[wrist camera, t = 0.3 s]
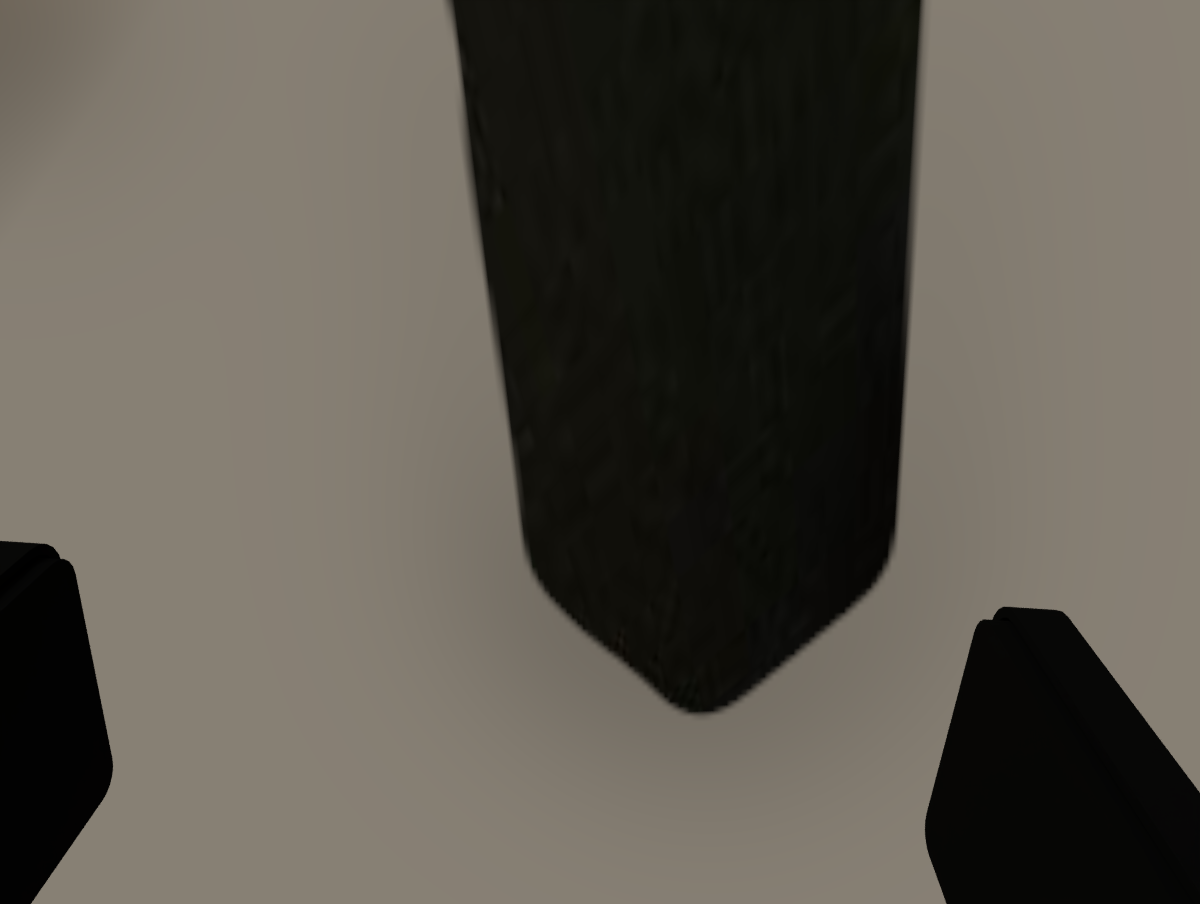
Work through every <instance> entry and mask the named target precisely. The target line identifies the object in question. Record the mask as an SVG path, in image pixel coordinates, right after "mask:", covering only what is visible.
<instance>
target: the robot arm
mask: <svg viewBox="0 0 1200 904" xmlns="http://www.w3.org/2000/svg"><path fill="white" fill-rule="evenodd" d="M112 772H113V761H112V755H111V750H110V745H109V739H108V735H107V729H106V724H105V720H104V715H103V709H102V704H101V699H100V695H99V689H98V684H97V679H96V674H95V669H94V664H93V659H92V655H91V649H90V645H89V639H88V634H87V629H86V624H85V619H84V614H83V609H82V604H81V599H80V594H79V589H78V584H77V579H76V574H75V571H74V568H73V566H72V565H71V563H70V562H69V561H67V560H65V559H60V557H59V554H58V553H57V552H56V550H55V549H54V548H53V547H52V546H49V545H48V544H38V543H23V542H8V541H0V904H31V903H32V901H33V900H34V899H35V897H36V896H37V894H38V893H39V891H40V890H41V888H42V887H43V885H44V884H45V883H46V881H47V880H48V878H49V877H50V875H51V874H52V872H53V871H54V870H55V868H56V867H57V865H58V864H59V862H60V861H61V860H62V858H63V857H64V855H65V854H66V852H67V851H68V849H69V848H70V847H71V845H72V844H73V842H74V841H75V839H76V838H77V836H78V835H79V834H80V832H81V831H82V829H83V828H84V826H85V825H86V823H87V822H88V821H89V819H90V818H91V816H92V815H93V813H94V812H95V810H96V809H97V808H98V806H99V805H100V803H101V802H102V800H103V798H104V797H105V795H106V793H107V791H108V788H109V786H110V782H111V778H112ZM925 837H926V844H927V850H928V853H929V856H930V859H931V862H932V865H933V867H934V870H935V873H936V876H937V878H938V881H939V884H940V887H941V889H942V892H943V895H944V898H945V900H946V903H947V904H1200V793H1199V791H1198V790H1197V788H1196V787H1195V786H1194V784H1193V783H1192V782H1191V780H1190V779H1189V778H1188V777H1187V775H1186V774H1185V772H1184V771H1183V770H1182V768H1181V767H1180V766H1179V764H1178V763H1177V762H1176V761H1175V759H1174V758H1173V756H1172V755H1171V754H1170V752H1169V751H1168V750H1167V748H1166V747H1165V746H1164V745H1163V743H1162V742H1161V740H1160V739H1159V738H1158V736H1157V735H1156V734H1155V732H1154V731H1153V730H1152V728H1151V727H1150V726H1149V725H1148V723H1147V722H1146V720H1145V719H1144V718H1143V716H1142V715H1141V714H1140V712H1139V711H1138V710H1137V708H1136V707H1135V706H1134V704H1133V703H1132V702H1131V700H1130V699H1129V698H1128V696H1127V695H1126V694H1125V692H1124V691H1123V690H1122V688H1121V687H1120V686H1119V684H1118V683H1117V682H1116V681H1115V679H1114V678H1113V676H1112V675H1111V674H1110V672H1109V671H1108V670H1107V668H1106V667H1105V666H1104V664H1103V663H1102V662H1101V660H1100V659H1099V658H1098V656H1097V655H1096V654H1095V652H1094V651H1093V650H1092V648H1091V647H1090V646H1089V644H1088V643H1087V642H1086V640H1085V639H1084V637H1083V636H1082V635H1081V633H1080V632H1079V631H1078V629H1077V628H1076V627H1075V626H1074V624H1073V623H1072V621H1071V620H1070V619H1069V618H1068V616H1066V615H1065V614H1064V613H1063V612H1062V611H1057V610H1048V609H1033V608H1017V607H1002V608H1000V609H999V610H998V611H997V612H996V614H995V615H994V617H993V620H982V621H980V622H979V623H978V625H977V627H976V629H975V632H974V635H973V639H972V643H971V647H970V650H969V654H968V658H967V662H966V666H965V669H964V673H963V677H962V681H961V685H960V689H959V693H958V696H957V700H956V704H955V707H954V711H953V715H952V719H951V723H950V726H949V730H948V734H947V738H946V742H945V745H944V749H943V753H942V757H941V761H940V765H939V768H938V772H937V776H936V780H935V784H934V787H933V791H932V795H931V799H930V803H929V806H928V810H927V815H926V820H925Z"/></svg>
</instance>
